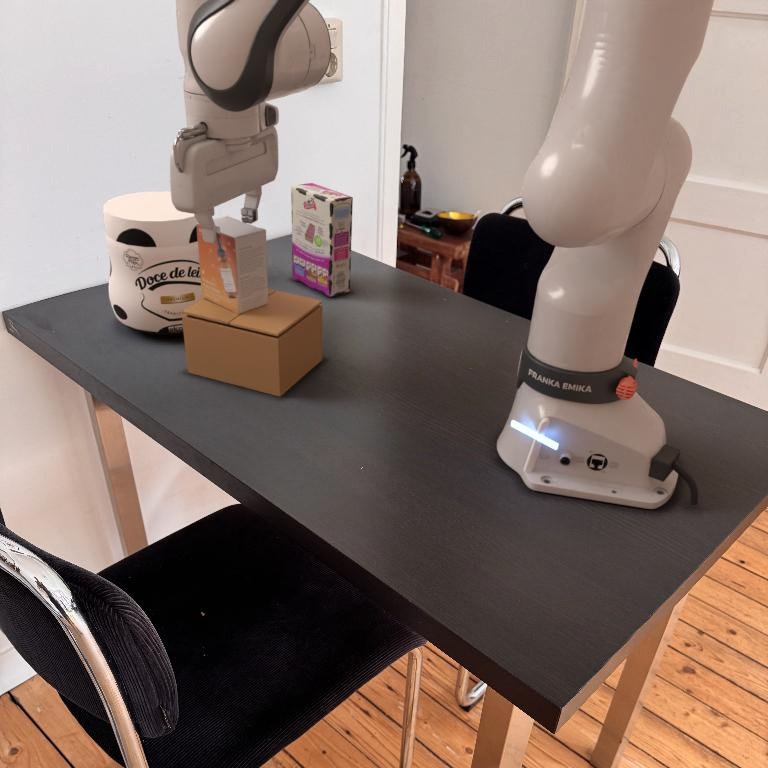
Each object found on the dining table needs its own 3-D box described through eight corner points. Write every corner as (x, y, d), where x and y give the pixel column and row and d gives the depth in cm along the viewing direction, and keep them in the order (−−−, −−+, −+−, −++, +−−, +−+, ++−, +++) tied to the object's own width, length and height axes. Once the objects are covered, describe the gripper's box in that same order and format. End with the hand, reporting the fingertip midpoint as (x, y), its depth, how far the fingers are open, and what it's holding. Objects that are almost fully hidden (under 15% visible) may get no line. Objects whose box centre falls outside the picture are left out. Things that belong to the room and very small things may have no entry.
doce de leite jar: (177, 354, 117) (162, 232, 106) (89, 326, 123) (68, 208, 112) (246, 315, 129) (240, 203, 118) (164, 292, 135) (151, 182, 124)
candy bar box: (352, 292, 140) (354, 196, 130) (330, 298, 137) (331, 201, 127) (312, 273, 146) (312, 180, 136) (291, 279, 143) (289, 185, 133)
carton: (322, 359, 118) (322, 300, 112) (280, 397, 108) (278, 333, 103) (235, 338, 122) (232, 280, 117) (187, 372, 112) (181, 310, 107)
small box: (201, 298, 111) (194, 222, 104) (231, 288, 114) (227, 214, 108) (238, 315, 107) (234, 237, 100) (269, 304, 110) (266, 228, 104)
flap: (322, 303, 113) (322, 300, 112) (277, 336, 103) (277, 333, 103) (276, 293, 115) (276, 290, 114) (229, 325, 105) (229, 322, 105)
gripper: (196, 134, 88) (208, 258, 96) (285, 107, 103) (288, 215, 111) (149, 128, 89) (165, 249, 98) (243, 102, 105) (250, 209, 113)
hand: (231, 231), depth 104 cm, fingers open, 8 cm apart
